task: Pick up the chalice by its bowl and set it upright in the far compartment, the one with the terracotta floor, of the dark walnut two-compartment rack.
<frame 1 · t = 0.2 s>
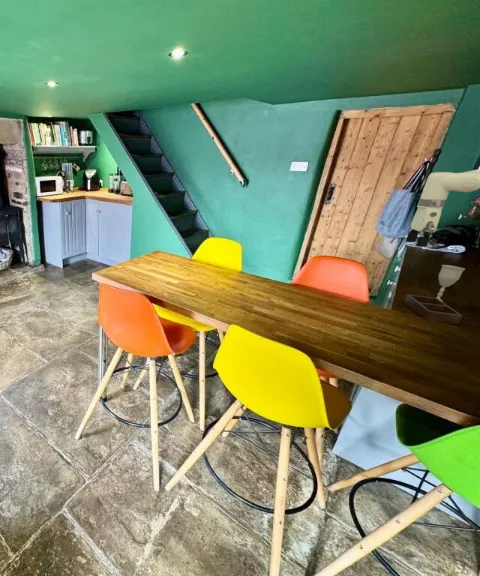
hand: (415, 244, 132), 29 cm above the worktop, tool pointing down, fingers open, 9 cm apart
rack: (428, 314, 131), on the worktop
chalice: (435, 304, 141), on the worktop
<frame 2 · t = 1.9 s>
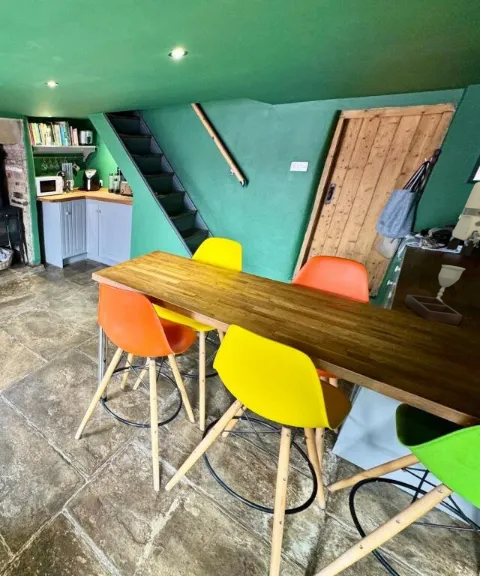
hand: (457, 252, 132), 25 cm above the worktop, tool pointing down, fingers open, 9 cm apart
nothing on the worktop moved.
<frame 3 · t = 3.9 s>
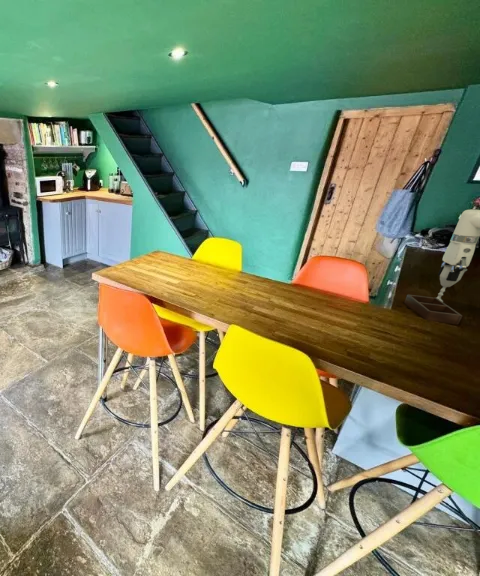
hand: (446, 278, 136), 13 cm above the worktop, tool pointing down, fingers closed on chalice, 6 cm apart
chalice: (435, 303, 141), on the worktop, touching gripper
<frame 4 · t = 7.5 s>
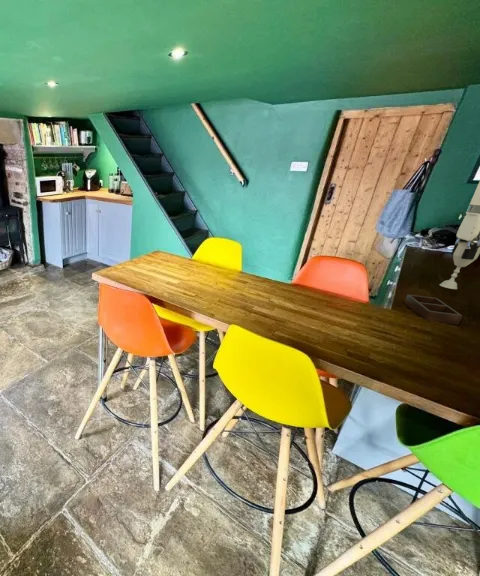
hand: (461, 256, 118), 27 cm above the worktop, tool pointing down, fingers closed on chalice, 6 cm apart
chalice: (448, 287, 123), point 14 cm above the worktop, touching gripper
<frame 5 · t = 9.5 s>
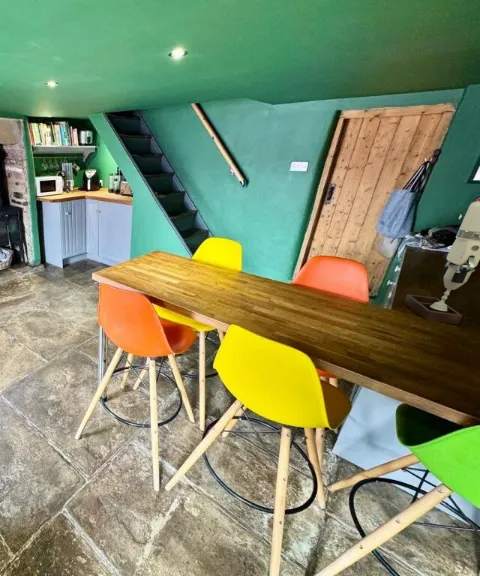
hand: (451, 279, 120), 18 cm above the worktop, tool pointing down, fingers closed on chalice, 6 cm apart
chalice: (438, 308, 125), point 5 cm above the worktop, touching gripper
when the fingers open (14 cm above the worktop, at t = 11.1 s): chalice stays where it is, resting on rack.
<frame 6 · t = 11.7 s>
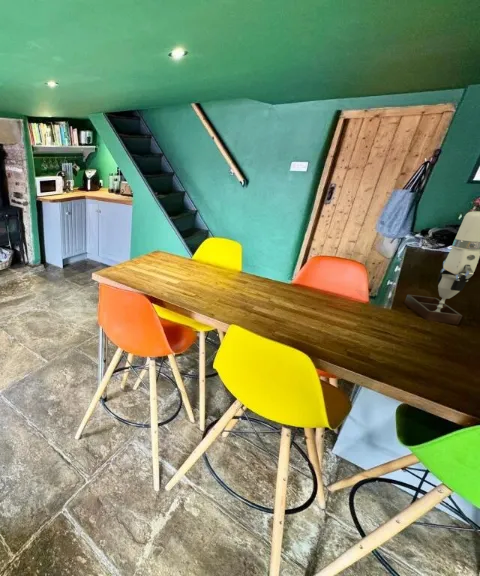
hand: (448, 286, 121), 15 cm above the worktop, tool pointing down, fingers open, 9 cm apart
chalice: (434, 317, 127), point 1 cm above the worktop, touching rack
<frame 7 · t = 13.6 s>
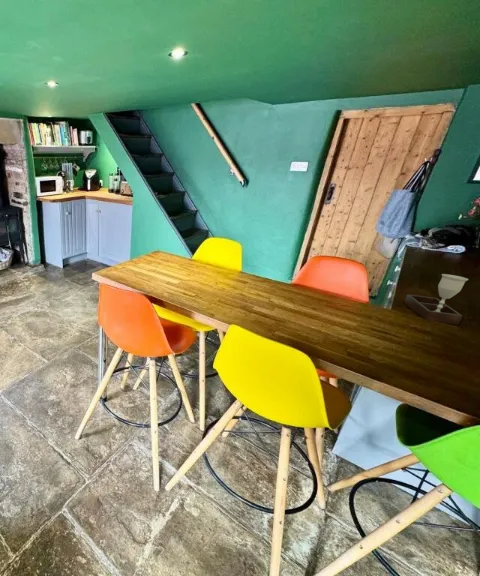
nothing on the worktop moved.
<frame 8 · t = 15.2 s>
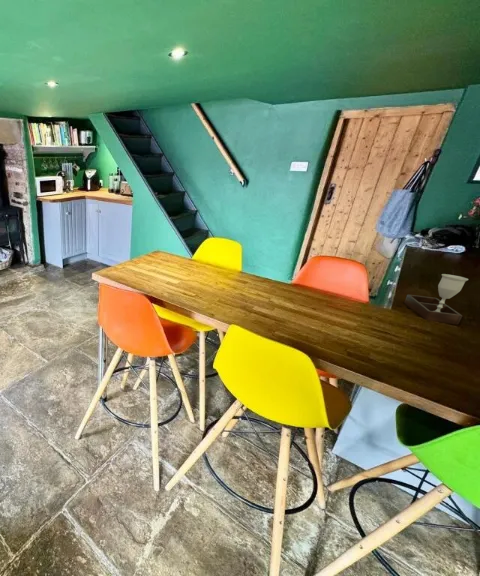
nothing on the worktop moved.
at the end: chalice 0.1 cm from the target spot in the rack, point 0.8 cm above the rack's base; chalice tilted 4°; the gripper is holding nothing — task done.
